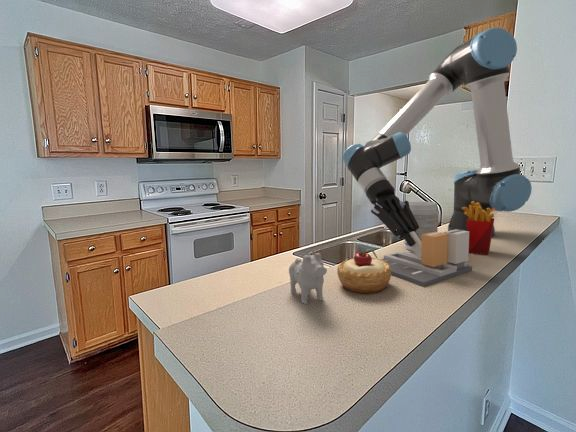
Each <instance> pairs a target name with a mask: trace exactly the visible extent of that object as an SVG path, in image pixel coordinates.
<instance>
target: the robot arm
mask: <svg viewBox="0 0 576 432" xmlns="http://www.w3.org/2000/svg"><path fill="white" fill-rule="evenodd" d="M517 51H518V45H517V41H516V39H515V36H514V35H513V34H512V33H511V32H510V31H508V30H506V29H505V28H502V27H491V28H487V29H486V30H483V31H481V32H478V33H477V34H476V35H475V36H473V37H471V38H469V39H468V40H466V41H465V42H463V43H462V44H459V45H458V46H456V47H455V48H454V49H453V50H451V52H449V53H448V55H447V56H446V57H445V58H444V59H443V60H442V61H441V63H439V65H438V66H437V67H436V68H435V69H434V70H433V71H432V72H431V73H430V75H429V76H428V80H427V82H426V83H425V84H424V85H423V86H422V87H421V88H420V89H419V90H418V91H417V92H416V93H415V95H413V96H412V98H410V99H409V100H408V102H407V103H406V104H405V105H404V106H403V107H402V108H401V109H400V110H399V111H398V112H396V114H395V115H394V116H393V117H392V118H391V120H390V121H388V122H387V124H385V125H384V126H383V127H382V128H381V130H380V131H379V132H378V133H377V134H375V136H374V137H373V138H372V139H371V140H369V141H367V142H366V143H365V144H361V143H354V144H351V145H350V146H348V147H347V148H346V149H345V150H344V152H343V154H342V160H343V161H344V164H345V166H346V167H347V170H348V171H349V172H350V174H351V175H352V176H353V178H354V179H355V180H356V182H357V184H358V185H359V187H360V189H362V192H363V193H364V194H365V196H366V198H367V199H368V201H369V203H370V204H371V205H373V208H372V209H371V210H370V212H371V214H373V215H374V216H375V217H377V218H378V219H379V221H380V222H381V223H383V225H384V226H385V227H386V228H387V229H388V230H389V231H390V232H391V234H392V235H394V236H395V237H397V238H399V239H400V240H403V239H404V242H405V241H406V242H407V244H408V245H409V246H410V247H411V248H412V249H413V251H414V252H415V254H416V255H417V257H418V258H421V252H422V240H421V238H420V237H419V236H418V234H417V233H416V230H417V229H418V228H419V225H418V223H417V221H416V219H415V217H414V215H413V213H412V211H411V209H410V207H409V202H410V201H408V200H405V201H403V200H400V198H399V197H397V196H396V194H395V188H394V186H393V185H392V184H391V182H390V181H389V180H388V178H387V177H386V175H385V173H384V172H383V171H382V170H381V169H382V168H383V167H385V166H387V165H390V164H392V163H394V162H396V161H398V160H401V159H403V158H404V157H406V156H408V155H410V154H411V151H412V146H411V145H412V144H411V142H410V139H409V137H408V134H409V133H410V132H411V131H412V130H413V129H414V128H415V127H416V126H417V125H418V124H419V123H420V122H421V121H422V120H423V119H424V118H425V117H426V116H427V115H428V114H429V113H430V112H431V111H432V110H433V108H434V107H435V106H436V105H438V103H439V102H440V101H441V100H442V99H443V98H444V97H445V96H451V94H452V93H453V92H454V91H456V89H458V88H459V87H462V86H463V85H464V87H465V88H466V89H468V90H469V91H470V93H471V100H472V108H473V114H474V115H473V116H474V123H475V131H476V138H477V139H476V140H477V147H478V152H479V153H478V154H479V155H478V156H479V162H480V167H479V168H478V169H471V170H463V171H459V172H457V173H456V174H455V175H454V182H453V186H454V189H453V192H454V193H453V213H452V215H451V218H450V220H449V223H448V225H447V231H451V230H455V229H457V230H463V231H467V220H468V219H469V217H468V216H467V215H465V214H464V212H465V211H464V210H462V207H467V208H468V209H469V205H472V204H471V202H472V201H474V202H475V203H480V205H481V207H482V209H483V210H485V211H486V212H487V208H490V209H492V208H495V210H494V211H496V212H506V213H507V212H508V213H509V212H514V211H518V210H519V209H520V208H522V207H523V206H524V205H525V204H526V202H528V201H529V199H530V197H531V194H532V183H531V181H530V179H528V178H527V177H526V176H525V175H522V174H521V168H520V167H521V166H520V164H518V163H517V162H515V161H514V160H513V150H512V149H513V147H512V141H511V132H510V123H509V114H508V106H507V96H506V95H507V94H506V87H505V81H506V80H507V78H508V77H509V76H510V64H511V63H513V61H514V58H515V57H516V56H517ZM472 206H473V205H472ZM474 215H475V210H474ZM479 218H480V214H479ZM495 231H496V227H495V225H494V224H493V231H492V237H493V236H495Z"/></svg>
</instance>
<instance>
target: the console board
mask: <svg viewBox="0 0 576 432" xmlns="http://www.w3.org/2000/svg"><path fill="white" fill-rule="evenodd" d="M442 233H446V234H448V248H447V263H446V264H443V265H442V270H439V269H436V268H433V267H429V266H426V265H424V264H421V258H418V257H417V255H416V254H415V252H414V251H413V250H412V251H410V252H409V251H403V252H402V251H401V252H400V251H397V252H393V253H388V254H384V255H383V258H382V259H380V260H381V261H385V262H386V263H388V264H389V265H390V267H391V276H394V277H396V278H399V279H402V280H404V281H407V282H409V283H413V284H415V285H418V286H421V287H426V286H429V285H432V284H435V283H438V282H441V281H445V280H448V279H451V278H454V277H457V276H459V275H463V274H466V273H469V272H471V271H473V266H470V265H469V252H468V251H469V231H463V230H457V229H455V230H451V231H448V230H447V231H444V232H443V231H442Z"/></svg>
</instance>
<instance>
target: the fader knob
mask: <svg viewBox="0 0 576 432" xmlns="http://www.w3.org/2000/svg"><path fill="white" fill-rule="evenodd" d="M447 248H448V234H446V233H443V231H442V232H440V231H437V232H431V233H427V234H422V252H421V264H424V265H426V266H429V267H433V268H436V269H439V270H442V265H443V264H446V263H447Z"/></svg>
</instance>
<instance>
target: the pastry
mask: <svg viewBox="0 0 576 432" xmlns="http://www.w3.org/2000/svg"><path fill="white" fill-rule="evenodd" d="M367 252H371V253H372V254H373V255H374V257H372V256H371V255H370V254H369V253H367ZM336 274H337V277H338V279H339V282H340V283H341V285H342V286H343V288H345V290H349V291H350V292H353V293H357V294H375V293H379V292H382V291H384V289H386V287H387V286H388V284H389V283H390V281H391V276H392V275H391V267H390V265H389V264H388V263H386V262H385V261H381V259H380V258H378V256H377V254H376V252H375V251H374V250H373V249H370V248H369V249H366V250H364V251H359V252H357V253H355V255H354V256H353V257H351V258H350V259H348V258H345V260H342V262H340V263H339V264H338V266H337V273H336Z"/></svg>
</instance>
